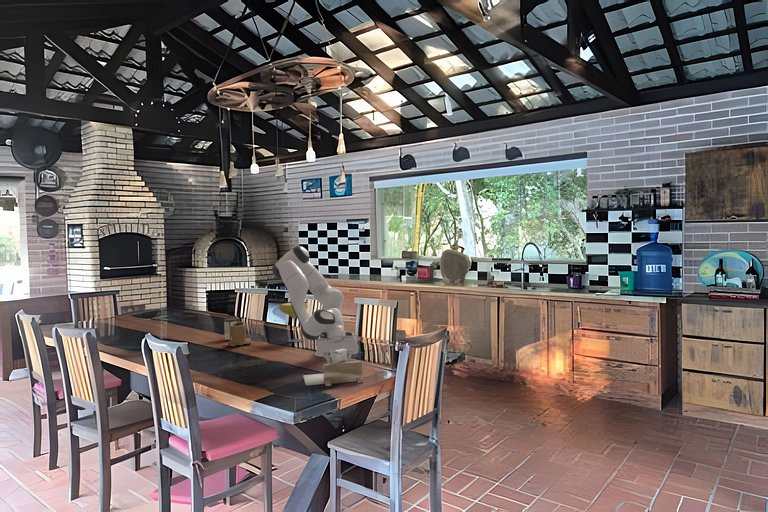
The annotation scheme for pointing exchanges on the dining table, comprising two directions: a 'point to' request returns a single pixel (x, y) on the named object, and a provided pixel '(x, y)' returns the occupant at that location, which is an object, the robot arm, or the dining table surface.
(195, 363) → the dining table surface
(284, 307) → the cocktail glass
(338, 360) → the syrup box
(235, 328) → the stone cup
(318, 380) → the display pad
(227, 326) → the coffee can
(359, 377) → the birch screen
